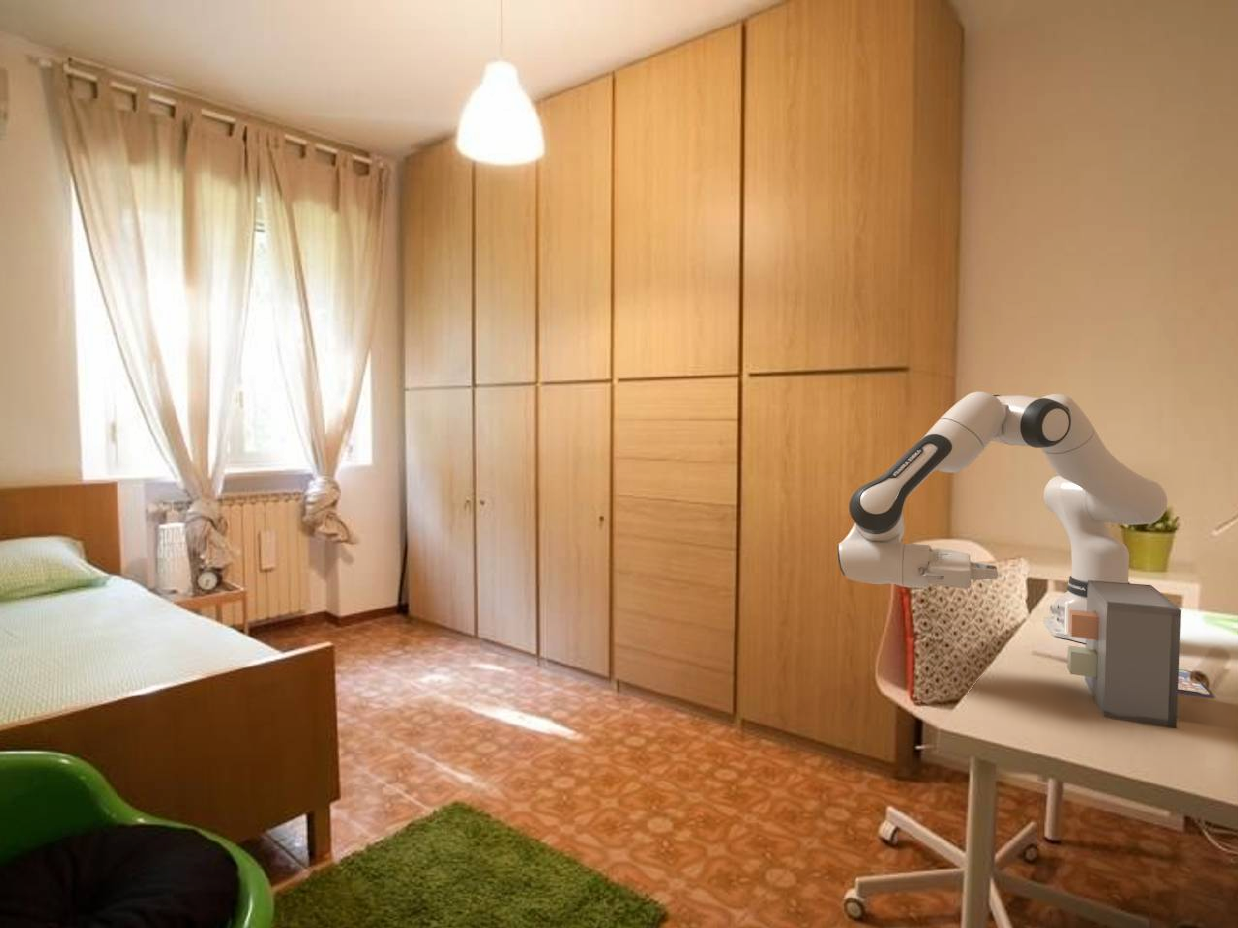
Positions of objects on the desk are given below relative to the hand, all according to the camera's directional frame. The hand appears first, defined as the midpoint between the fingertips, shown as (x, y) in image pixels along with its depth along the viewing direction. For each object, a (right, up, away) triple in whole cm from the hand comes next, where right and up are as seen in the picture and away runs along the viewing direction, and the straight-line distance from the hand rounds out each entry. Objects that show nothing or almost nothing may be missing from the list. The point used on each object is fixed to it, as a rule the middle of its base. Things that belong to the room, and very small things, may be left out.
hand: (997, 572), depth 132 cm
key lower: (+13, -18, -6) cm, 23 cm away
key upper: (+13, -11, -6) cm, 18 cm away
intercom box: (+19, -22, -8) cm, 30 cm away
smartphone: (+36, -22, +1) cm, 43 cm away
